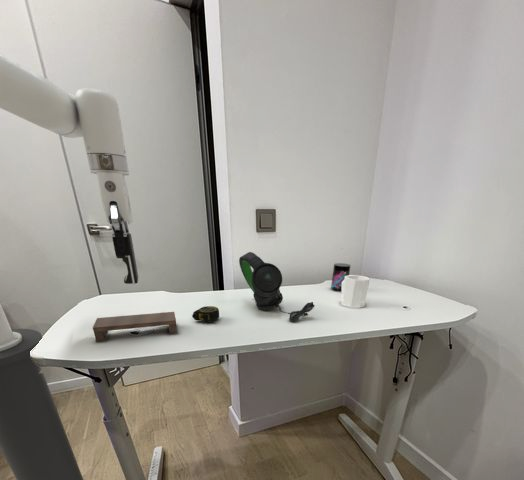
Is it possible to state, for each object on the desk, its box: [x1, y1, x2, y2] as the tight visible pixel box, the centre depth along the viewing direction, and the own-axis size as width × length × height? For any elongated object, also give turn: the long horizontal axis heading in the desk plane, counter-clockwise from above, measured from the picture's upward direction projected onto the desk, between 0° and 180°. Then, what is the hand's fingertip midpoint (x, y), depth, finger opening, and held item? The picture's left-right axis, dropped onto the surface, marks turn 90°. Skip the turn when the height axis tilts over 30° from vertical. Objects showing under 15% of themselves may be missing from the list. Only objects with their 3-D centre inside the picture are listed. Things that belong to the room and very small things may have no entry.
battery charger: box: [115, 232, 139, 285], centre depth 71 cm, size 7×4×11 cm, turn 19°
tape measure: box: [191, 305, 220, 323], centre depth 88 cm, size 7×7×4 cm
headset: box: [238, 251, 315, 322], centre depth 95 cm, size 18×14×29 cm
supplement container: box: [330, 262, 352, 292], centre depth 122 cm, size 7×7×10 cm
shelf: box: [92, 311, 178, 343], centre depth 79 cm, size 20×7×4 cm, turn 109°
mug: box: [340, 274, 370, 309], centre depth 106 cm, size 12×9×10 cm
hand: (124, 252), depth 70 cm, fingers closed on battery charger, 7 cm apart
